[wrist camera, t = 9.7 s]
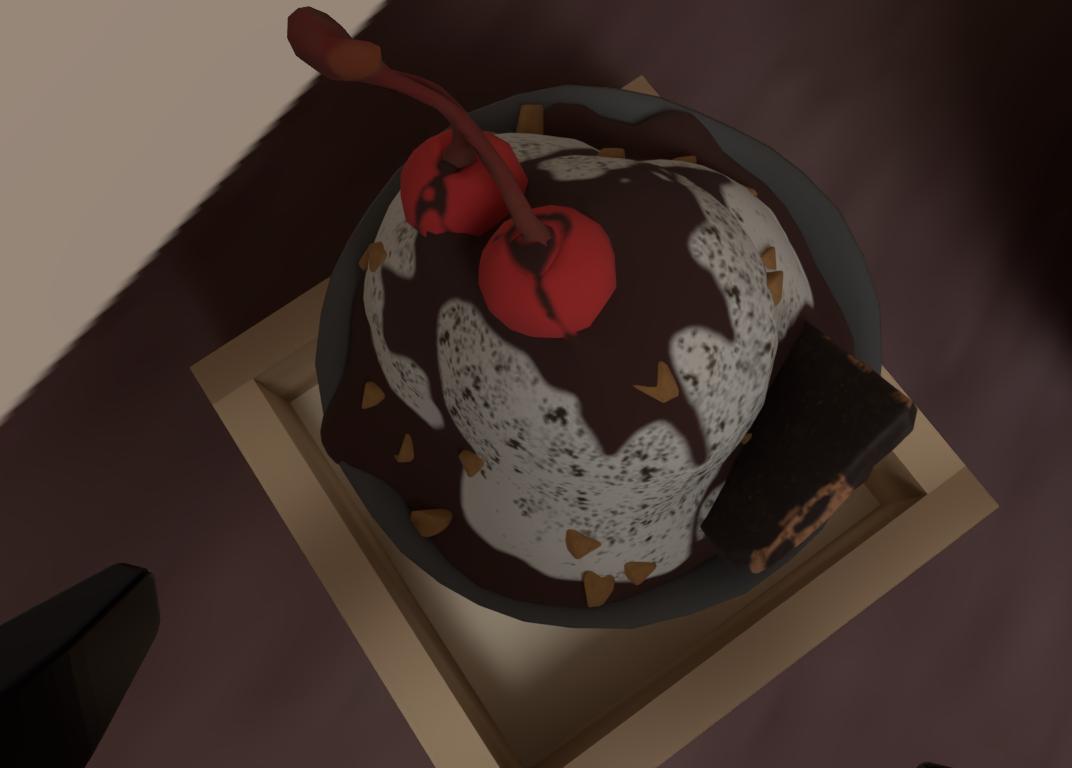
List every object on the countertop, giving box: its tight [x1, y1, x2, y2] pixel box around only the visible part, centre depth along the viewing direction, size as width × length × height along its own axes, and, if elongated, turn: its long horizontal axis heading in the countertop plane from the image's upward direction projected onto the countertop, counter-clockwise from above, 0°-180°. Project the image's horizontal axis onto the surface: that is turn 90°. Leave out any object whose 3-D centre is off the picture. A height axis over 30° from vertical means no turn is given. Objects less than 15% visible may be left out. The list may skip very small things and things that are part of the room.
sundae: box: [287, 6, 918, 629], centre depth 12 cm, size 7×7×15 cm
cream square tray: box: [189, 75, 999, 768], centre depth 19 cm, size 12×12×4 cm
